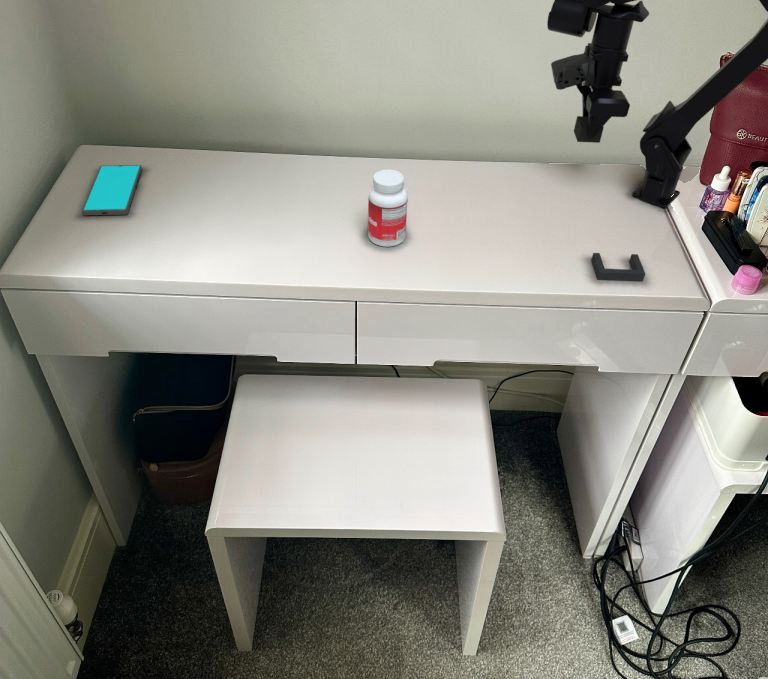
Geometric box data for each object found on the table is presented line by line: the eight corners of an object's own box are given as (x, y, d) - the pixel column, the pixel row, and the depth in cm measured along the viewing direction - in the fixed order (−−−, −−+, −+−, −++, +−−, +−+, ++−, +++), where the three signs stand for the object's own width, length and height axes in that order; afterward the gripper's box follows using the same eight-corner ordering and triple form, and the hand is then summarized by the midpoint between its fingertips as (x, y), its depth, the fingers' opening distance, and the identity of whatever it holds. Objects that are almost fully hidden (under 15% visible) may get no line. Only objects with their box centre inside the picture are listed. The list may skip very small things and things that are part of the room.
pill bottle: (366, 226, 117) (367, 167, 109) (403, 225, 117) (406, 166, 110) (369, 248, 112) (370, 188, 105) (407, 247, 113) (411, 187, 105)
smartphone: (81, 211, 116) (100, 165, 127) (82, 215, 117) (101, 169, 128) (127, 210, 117) (142, 164, 128) (128, 214, 117) (143, 169, 128)
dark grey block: (573, 131, 128) (577, 115, 126) (595, 132, 128) (599, 116, 126) (577, 142, 125) (581, 126, 123) (599, 142, 125) (603, 127, 123)
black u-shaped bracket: (591, 260, 112) (593, 252, 111) (635, 261, 112) (637, 254, 111) (597, 279, 108) (599, 272, 107) (642, 281, 108) (645, 273, 107)
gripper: (551, 20, 122) (536, 106, 133) (569, 64, 108) (550, 155, 119) (616, 23, 122) (595, 109, 133) (642, 66, 108) (616, 158, 119)
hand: (587, 131), depth 126 cm, fingers closed on dark grey block, 4 cm apart
